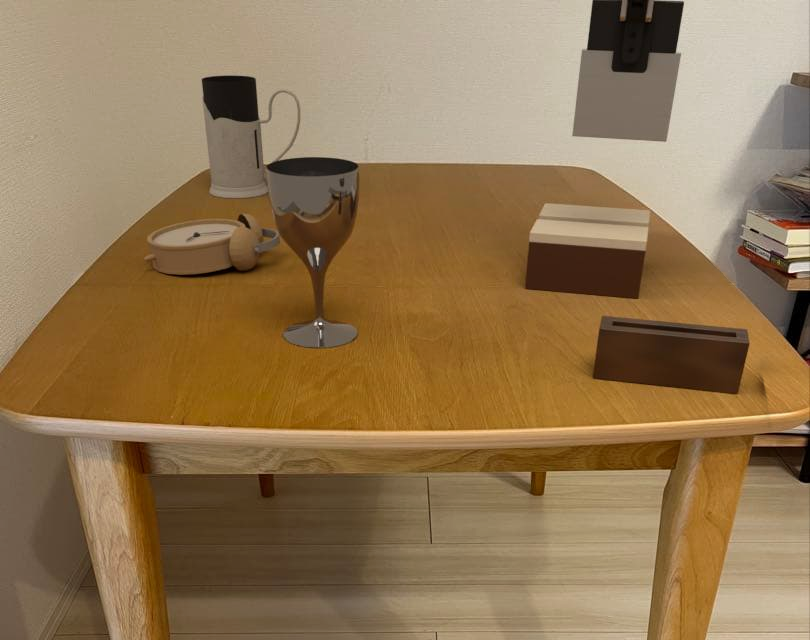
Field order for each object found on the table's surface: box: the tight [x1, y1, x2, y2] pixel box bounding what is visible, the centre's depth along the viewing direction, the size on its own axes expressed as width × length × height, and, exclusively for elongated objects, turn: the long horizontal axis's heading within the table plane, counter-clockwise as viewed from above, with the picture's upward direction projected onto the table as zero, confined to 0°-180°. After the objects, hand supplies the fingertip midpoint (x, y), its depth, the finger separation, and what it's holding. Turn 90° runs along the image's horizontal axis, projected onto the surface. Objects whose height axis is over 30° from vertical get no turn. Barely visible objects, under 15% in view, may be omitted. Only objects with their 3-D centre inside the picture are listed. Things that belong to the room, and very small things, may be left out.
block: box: [592, 315, 751, 395], centre depth 75 cm, size 12×3×4 cm, turn 75°
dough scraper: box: [571, 0, 685, 143], centre depth 82 cm, size 9×2×12 cm, turn 76°
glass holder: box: [201, 74, 301, 199], centre depth 127 cm, size 9×14×15 cm, turn 88°
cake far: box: [538, 202, 651, 227], centre depth 101 cm, size 12×6×6 cm, turn 75°
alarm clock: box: [143, 213, 281, 276], centre depth 101 cm, size 11×5×15 cm
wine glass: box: [266, 156, 360, 349], centre depth 80 cm, size 8×8×15 cm
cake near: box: [524, 218, 649, 300], centre depth 95 cm, size 12×6×6 cm, turn 75°
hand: (629, 68), depth 82 cm, fingers closed on dough scraper, 2 cm apart
